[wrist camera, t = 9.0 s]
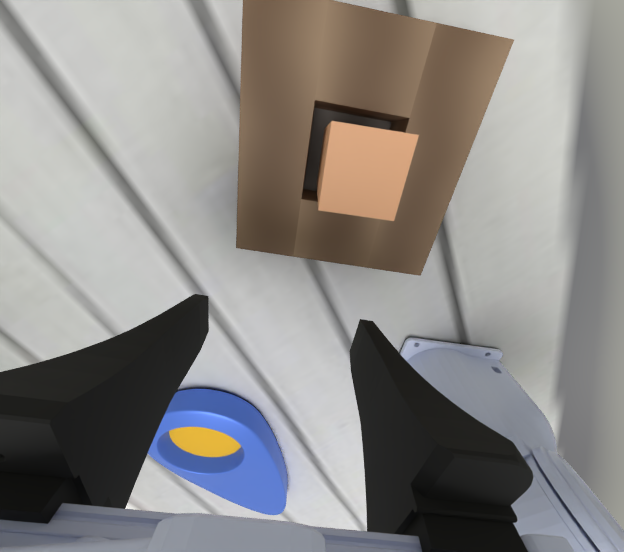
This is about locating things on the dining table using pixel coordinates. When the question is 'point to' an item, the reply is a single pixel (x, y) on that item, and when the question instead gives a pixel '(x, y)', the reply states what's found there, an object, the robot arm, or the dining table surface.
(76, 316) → the dining table surface
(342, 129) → the peg
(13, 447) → the robot arm
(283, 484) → the location marker
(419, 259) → the socket block
